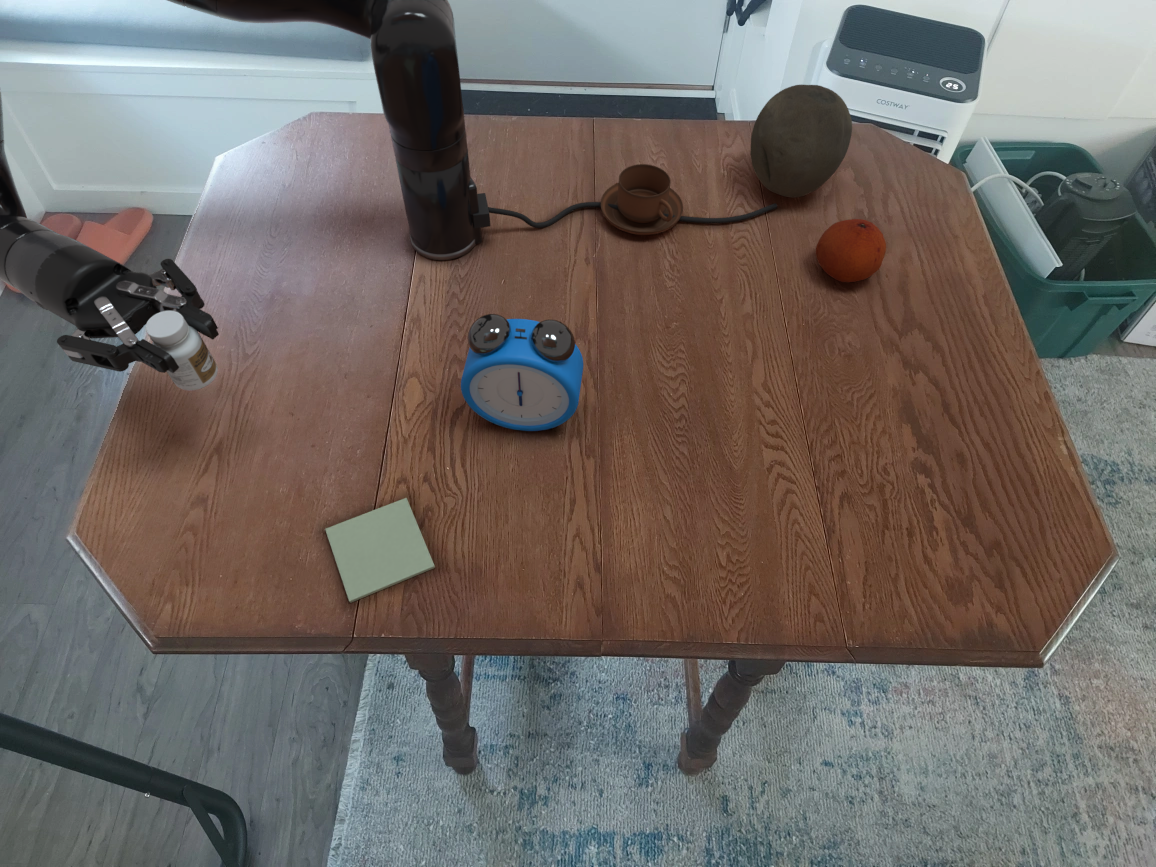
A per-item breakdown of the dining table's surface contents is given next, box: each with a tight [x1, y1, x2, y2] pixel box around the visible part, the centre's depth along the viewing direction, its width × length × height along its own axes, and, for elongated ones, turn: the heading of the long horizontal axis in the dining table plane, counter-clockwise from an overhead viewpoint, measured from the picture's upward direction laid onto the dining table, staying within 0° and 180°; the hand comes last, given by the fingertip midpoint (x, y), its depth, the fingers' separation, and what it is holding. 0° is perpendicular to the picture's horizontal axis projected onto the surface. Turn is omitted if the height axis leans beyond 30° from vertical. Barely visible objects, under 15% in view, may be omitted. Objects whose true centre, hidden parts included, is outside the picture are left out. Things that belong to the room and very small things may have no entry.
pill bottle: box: [145, 311, 219, 392], centre depth 74 cm, size 4×4×8 cm
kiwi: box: [749, 84, 853, 199], centre depth 110 cm, size 14×14×15 cm
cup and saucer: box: [600, 163, 684, 236], centre depth 109 cm, size 12×12×6 cm
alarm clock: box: [460, 313, 584, 432], centre depth 84 cm, size 13×6×15 cm, turn 84°
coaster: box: [324, 497, 436, 604], centre depth 79 cm, size 9×9×1 cm
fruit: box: [815, 218, 887, 283], centre depth 102 cm, size 9×9×8 cm
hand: (193, 347), depth 72 cm, fingers closed on pill bottle, 4 cm apart
